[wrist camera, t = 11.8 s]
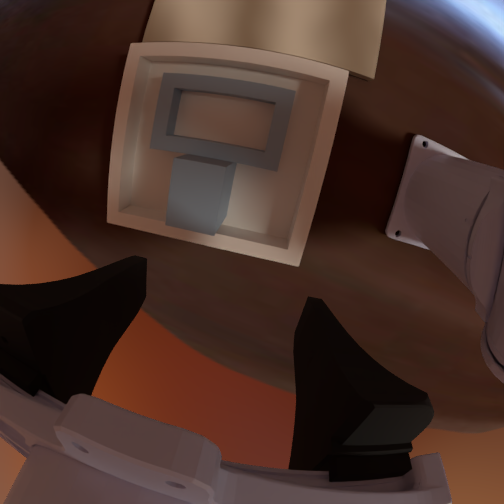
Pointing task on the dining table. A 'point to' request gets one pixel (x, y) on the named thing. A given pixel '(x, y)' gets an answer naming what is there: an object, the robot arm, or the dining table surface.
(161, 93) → the grey blocky piece
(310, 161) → the tray
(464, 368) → the dining table surface
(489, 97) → the dining table surface
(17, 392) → the robot arm
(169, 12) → the tan square tile
